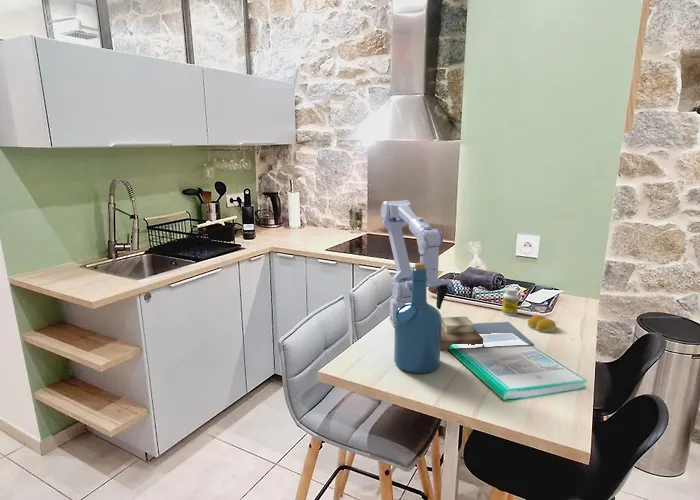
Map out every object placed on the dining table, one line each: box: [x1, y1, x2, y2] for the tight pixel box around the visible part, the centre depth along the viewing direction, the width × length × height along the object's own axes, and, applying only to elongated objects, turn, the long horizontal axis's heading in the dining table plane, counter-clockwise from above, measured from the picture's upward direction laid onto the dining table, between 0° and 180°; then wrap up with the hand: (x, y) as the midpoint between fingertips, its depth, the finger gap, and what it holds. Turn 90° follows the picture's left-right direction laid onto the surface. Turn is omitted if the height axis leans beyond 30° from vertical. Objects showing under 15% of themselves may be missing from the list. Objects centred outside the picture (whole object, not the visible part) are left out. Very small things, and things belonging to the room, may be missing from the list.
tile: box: [441, 316, 474, 333], centre depth 146 cm, size 9×7×2 cm
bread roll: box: [527, 314, 557, 333], centre depth 154 cm, size 8×9×4 cm
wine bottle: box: [393, 262, 443, 374], centre depth 126 cm, size 14×13×30 cm
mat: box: [472, 321, 535, 346], centre depth 149 cm, size 16×18×1 cm
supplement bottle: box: [501, 287, 519, 317], centre depth 166 cm, size 5×5×10 cm
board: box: [440, 327, 483, 351], centre depth 147 cm, size 14×18×3 cm
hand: (428, 308), depth 144 cm, fingers open, 6 cm apart
